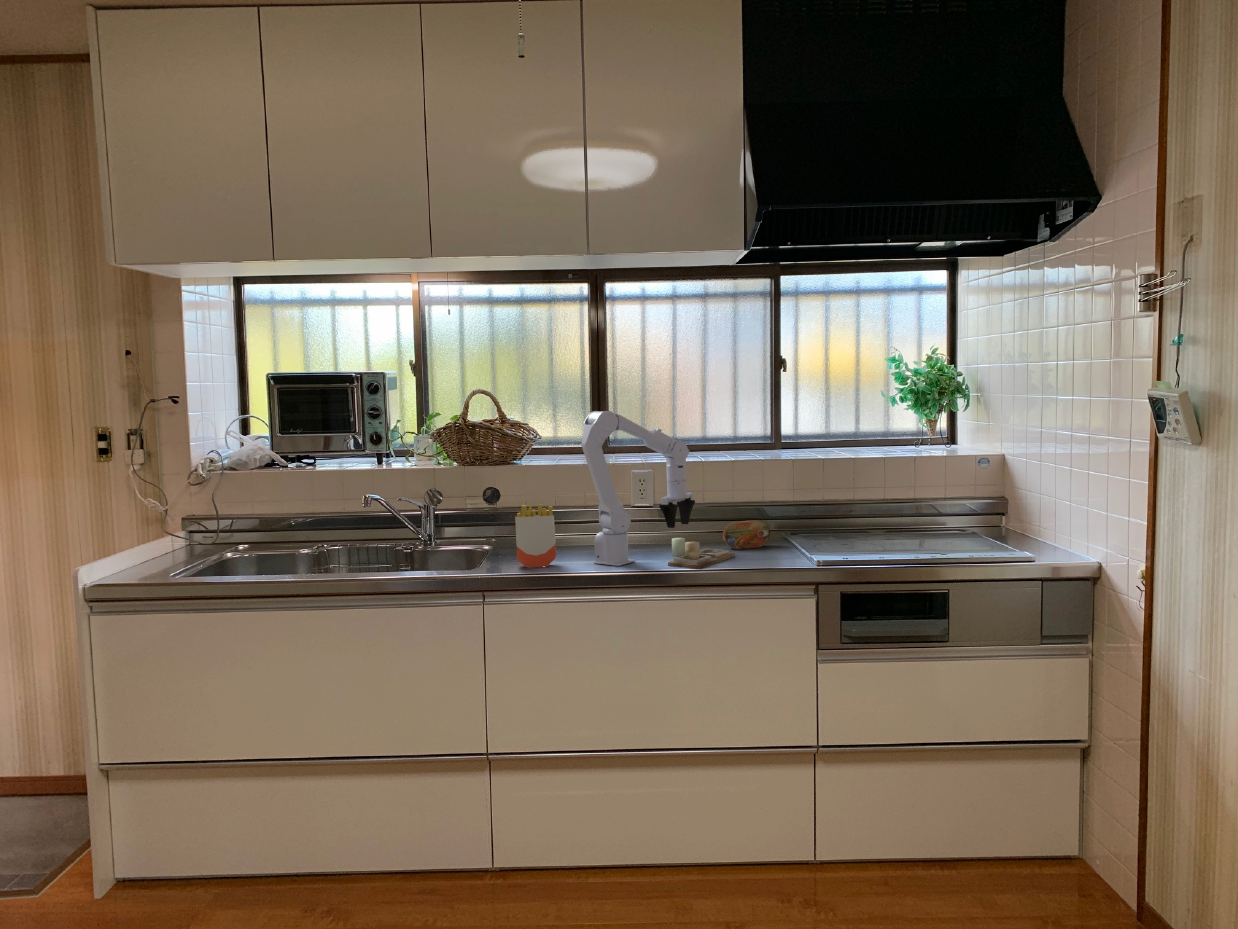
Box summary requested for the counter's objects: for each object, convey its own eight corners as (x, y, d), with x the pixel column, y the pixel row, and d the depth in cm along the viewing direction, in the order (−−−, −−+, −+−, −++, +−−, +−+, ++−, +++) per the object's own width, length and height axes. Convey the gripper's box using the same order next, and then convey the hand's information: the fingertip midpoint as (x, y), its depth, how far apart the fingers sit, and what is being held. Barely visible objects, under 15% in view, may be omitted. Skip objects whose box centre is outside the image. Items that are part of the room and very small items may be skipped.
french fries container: (519, 565, 243) (516, 504, 241) (556, 564, 243) (554, 502, 241) (517, 568, 238) (514, 506, 237) (555, 567, 238) (552, 504, 237)
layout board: (668, 565, 234) (667, 558, 233) (704, 554, 250) (704, 547, 249) (698, 569, 228) (698, 561, 228) (734, 556, 244) (734, 549, 243)
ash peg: (682, 561, 234) (682, 543, 234) (690, 558, 237) (690, 541, 237) (695, 562, 232) (694, 544, 231) (702, 559, 235) (702, 542, 235)
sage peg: (669, 555, 249) (669, 539, 248) (676, 553, 252) (676, 537, 252) (681, 557, 246) (680, 540, 246) (688, 554, 250) (687, 538, 249)
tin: (725, 550, 254) (725, 523, 254) (721, 548, 258) (721, 521, 257) (770, 546, 258) (770, 519, 258) (766, 544, 261) (765, 518, 261)
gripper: (674, 483, 239) (676, 530, 240) (700, 478, 251) (702, 523, 252) (654, 482, 244) (656, 528, 245) (680, 477, 255) (682, 521, 256)
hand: (678, 525), depth 249 cm, fingers open, 7 cm apart
